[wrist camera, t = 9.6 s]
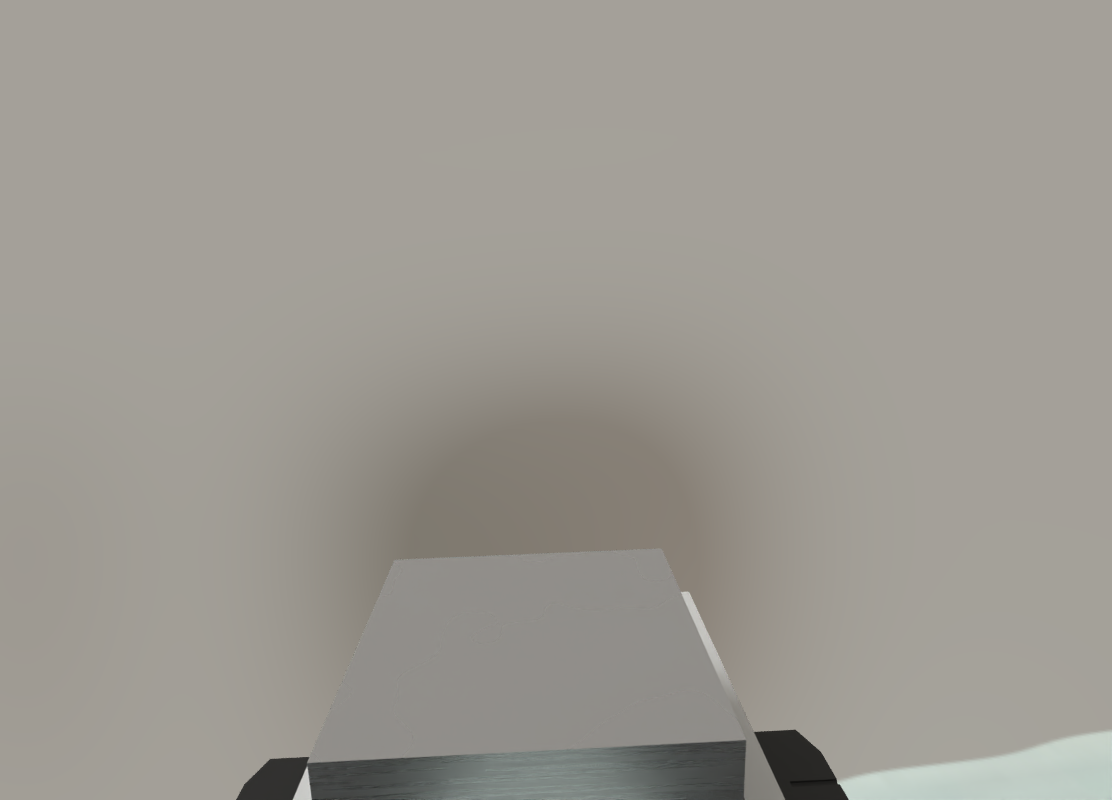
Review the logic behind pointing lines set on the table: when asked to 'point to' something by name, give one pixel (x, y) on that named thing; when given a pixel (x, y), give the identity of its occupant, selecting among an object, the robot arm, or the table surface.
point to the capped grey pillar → (530, 687)
